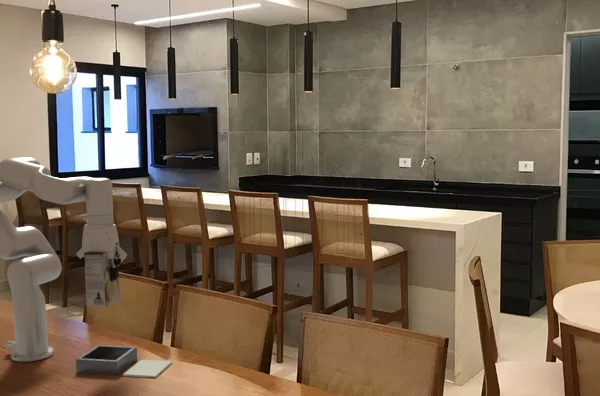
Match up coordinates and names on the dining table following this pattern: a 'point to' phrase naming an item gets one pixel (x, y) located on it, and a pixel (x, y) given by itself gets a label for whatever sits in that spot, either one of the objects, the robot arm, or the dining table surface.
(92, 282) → the coffee box
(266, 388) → the dining table surface
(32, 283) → the robot arm
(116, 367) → the holder
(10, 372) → the dining table surface
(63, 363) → the dining table surface
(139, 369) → the placemat
